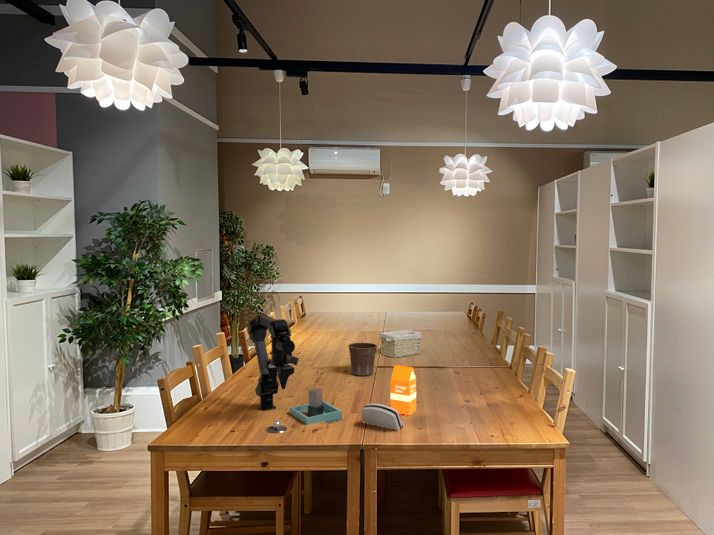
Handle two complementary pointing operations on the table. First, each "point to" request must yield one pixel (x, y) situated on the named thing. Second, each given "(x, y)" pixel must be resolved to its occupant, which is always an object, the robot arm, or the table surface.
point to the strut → (315, 402)
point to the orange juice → (403, 390)
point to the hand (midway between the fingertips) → (279, 386)
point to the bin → (328, 415)
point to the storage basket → (400, 343)
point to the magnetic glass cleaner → (381, 416)
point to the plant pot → (362, 358)
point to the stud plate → (272, 430)
